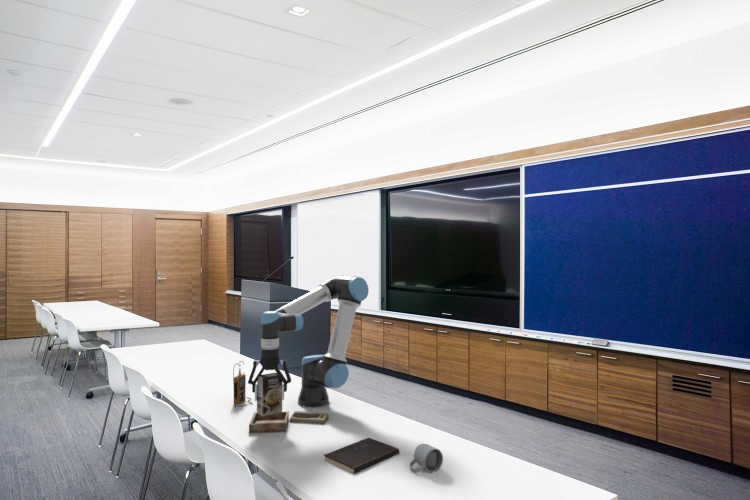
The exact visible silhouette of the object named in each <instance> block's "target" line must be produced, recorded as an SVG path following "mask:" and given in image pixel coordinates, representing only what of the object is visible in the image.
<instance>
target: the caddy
mask: <svg viewBox="0 0 750 500" xmlns="http://www.w3.org/2000/svg"><path fill="white" fill-rule="evenodd" d="M289 414H290V412H289V411H282V412H281V413H276V414H272V415H267V416H261V415H260V414H258V413H257V412H254V413H253V414H252V417H251V419H250V421H249V423H248V433H249V434H260V433H261V434H262V433H263V434H264V433H286V432H287V429H288V425H289V421H290V418H289V417H290V415H289Z"/></svg>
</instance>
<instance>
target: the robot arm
mask: <svg viewBox="0 0 750 500" xmlns="http://www.w3.org/2000/svg"><path fill="white" fill-rule="evenodd" d="M369 292H370V291H369V285H368V283H367V281H366V280H365V278H363V277H360V276H355V275H353V276H352V275H338V276H335V277H332V278H331V279H328V280H327V281H324V282H322V283H320V284H319V285H318V286H317V288H315V289H313V290H311V291H309V292H308V293H306V294H304V295H302V296H300V297H298V298H297V299H294V300H293V301H290V302H288V303H287V304H285V305H283V306H281V307H279V308H277V309H276V310H269V311H263V312H262V313H261V318H260V320H261V321H260V334H261V335H260V337H261V338H260V348H261V349H260V360H257V359H254V361H253V363H252V365H253V367H252V370H251V372H250V375H249V377H248V381H247V384H248V385H251V387H252V388H251V389H252V390H251V391H252V393H254V401H255V402H257V381H258V379H259V376H261V375H263V372H264V371H274V372H275V373H277V374H278V375H279V377H280V378H281V380H282V401H285V392H287V391H288V384H290V383H291V382H292V378H291V375H290V372H289V369H288V366H287V359H280V349H279V347H280V334H282V333H290V332H296V331H301V330H302V329H303V328H304V322H305V321H304V318H303V316H302V314H303V315H304V313H306V312H308V311H310V310H311V309H314V308H315V307H317V306H319V305H320V304H322V303H324V302H330V301H332V300H335V299H337V302H338V304H339V306H338V308H337V309H338V310H337V312H336V313H337V314H336V317H335V322H334V325H333V329H332V332H331V337H330V341H329V343H328V350H327V351H326V353H325V354H313V355H307V356H304V357H303V358H302V359H301V389H300V391H299V395H298V398H297V403H298V405H300V406H301V407H307V408H314V407H322V406H325V405H327V404H329V401H330V397H329V394H328V391H327V388H331V389H338V388H341V387H343V386H344V385H345V384H346V382H347V381H348V379H349V376H350V374H349V373H350V371H349V368H348V366H347V362H348V360H347V359H346V353H347V350H348V349H347V348H348V345H349V341H350V338H351V337H350V336H351V333H352V328H353V324H354V319H355V317H356V313H357V308H360V307H361V305H362V302H363V301H365V299H367V297H368V295H369ZM259 364H260V365H261V369H260V371H259V372H258V374H257V375H256V377H255V378H254V375H255V373H256V370H257V367H258V366H259ZM280 364H281V366H282V368H283V371H284V374H285V376H284V374H283V372H282V371H281V369H280V367H279V365H280ZM253 378H254V380H253Z"/></svg>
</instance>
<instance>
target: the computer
mask: <svg viewBox="0 0 750 500" xmlns="http://www.w3.org/2000/svg"><path fill="white" fill-rule="evenodd" d="M289 417H290V418H289V422H290V423H303V424H317V425H318V424H319V425H325V424H326V423H327V421H328V420H329V419H330V418H329V417H330V414H329V412H322V411H321V412H320V411H305V410H304V411H301V410H300V411H299V410H295V411H294V412H293V413H292V414H291V416H289Z"/></svg>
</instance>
